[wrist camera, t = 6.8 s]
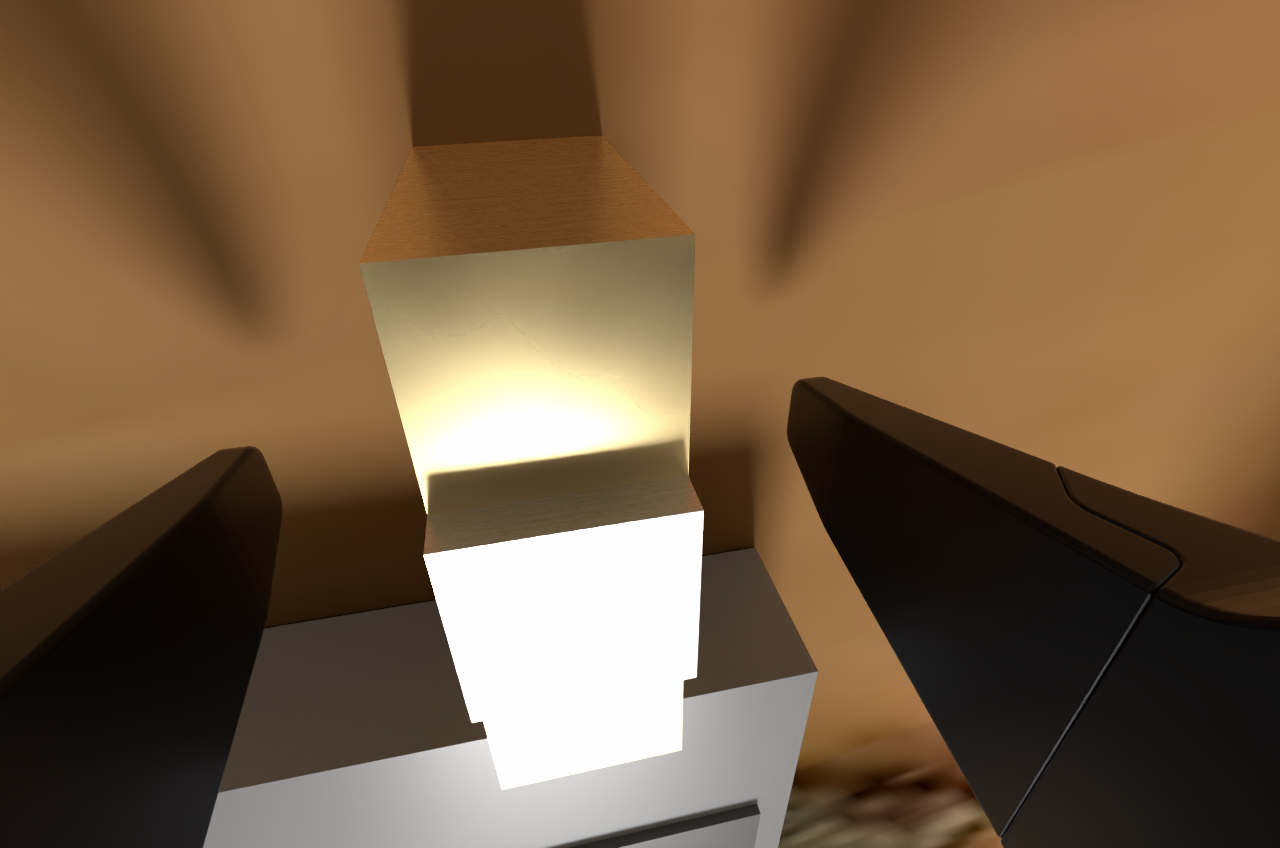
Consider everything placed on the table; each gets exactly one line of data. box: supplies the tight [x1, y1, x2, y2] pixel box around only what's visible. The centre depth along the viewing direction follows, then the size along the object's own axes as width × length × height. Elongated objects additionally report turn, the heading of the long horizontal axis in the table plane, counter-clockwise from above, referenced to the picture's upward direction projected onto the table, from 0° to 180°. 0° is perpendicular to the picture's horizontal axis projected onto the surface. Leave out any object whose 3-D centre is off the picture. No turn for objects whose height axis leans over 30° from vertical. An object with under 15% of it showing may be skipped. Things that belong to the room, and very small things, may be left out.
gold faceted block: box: [359, 135, 704, 790], centre depth 8 cm, size 2×7×5 cm, turn 1°
